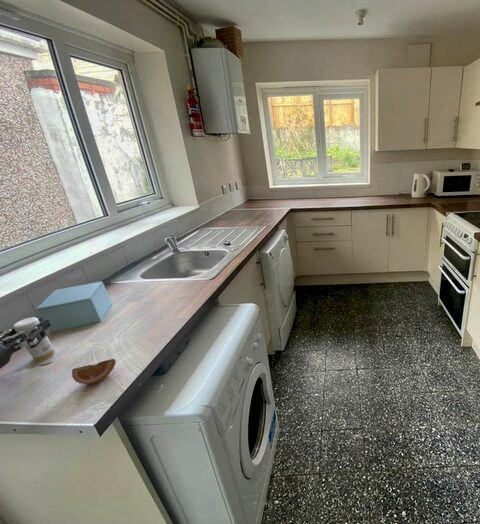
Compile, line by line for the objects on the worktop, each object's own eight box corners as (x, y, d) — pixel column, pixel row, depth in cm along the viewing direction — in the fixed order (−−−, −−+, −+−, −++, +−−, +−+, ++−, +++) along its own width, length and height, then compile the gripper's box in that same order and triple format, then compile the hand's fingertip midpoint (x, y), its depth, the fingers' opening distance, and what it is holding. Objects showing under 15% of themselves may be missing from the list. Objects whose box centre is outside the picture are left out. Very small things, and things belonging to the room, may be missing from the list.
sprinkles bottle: (52, 354, 84) (31, 315, 79) (62, 357, 82) (41, 318, 77) (32, 365, 80) (8, 324, 75) (42, 368, 78) (18, 327, 73)
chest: (101, 321, 99) (91, 299, 96) (50, 332, 94) (37, 310, 91) (111, 303, 111) (103, 283, 107) (67, 313, 106) (56, 292, 102)
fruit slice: (122, 365, 78) (116, 351, 76) (116, 382, 72) (108, 367, 71) (84, 376, 75) (76, 361, 73) (74, 394, 69) (65, 379, 67)
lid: (90, 300, 95) (89, 298, 95) (36, 311, 90) (35, 309, 90) (103, 283, 107) (102, 281, 107) (56, 291, 102) (55, 289, 102)
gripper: (-2, 349, 63) (60, 308, 79) (-76, 357, 62) (2, 314, 77) (15, 375, 66) (72, 331, 82) (-55, 384, 64) (16, 337, 80)
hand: (38, 323), depth 79 cm, fingers closed on sprinkles bottle, 4 cm apart
